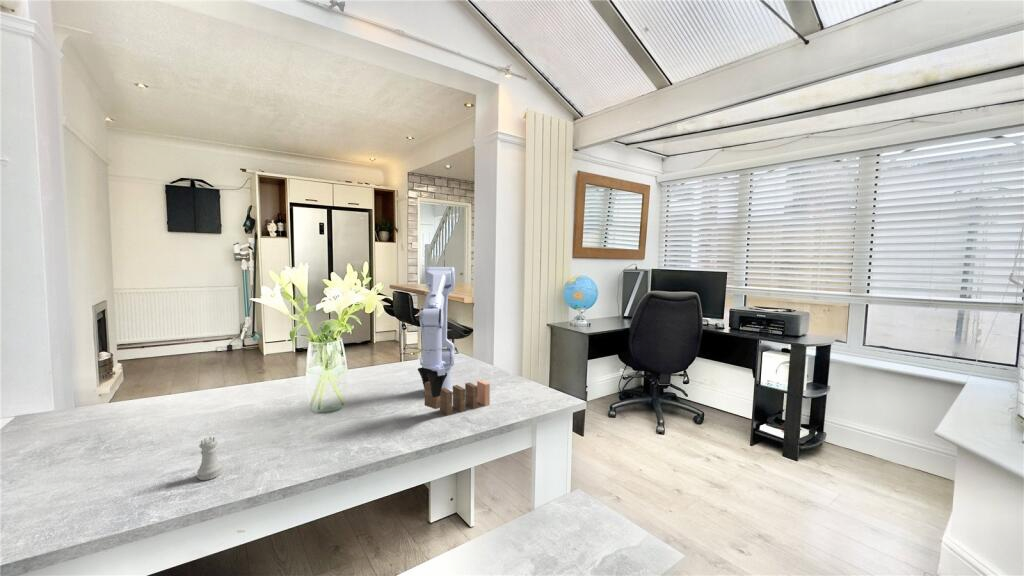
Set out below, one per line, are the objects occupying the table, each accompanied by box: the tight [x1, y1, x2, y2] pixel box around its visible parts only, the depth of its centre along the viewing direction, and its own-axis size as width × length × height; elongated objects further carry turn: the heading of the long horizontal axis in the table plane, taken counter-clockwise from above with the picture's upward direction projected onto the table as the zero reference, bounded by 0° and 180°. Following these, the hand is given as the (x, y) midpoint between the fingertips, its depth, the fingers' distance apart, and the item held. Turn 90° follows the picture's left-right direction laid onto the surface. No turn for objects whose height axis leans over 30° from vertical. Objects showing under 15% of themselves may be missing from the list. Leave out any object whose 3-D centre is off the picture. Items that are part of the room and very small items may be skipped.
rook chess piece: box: [196, 436, 223, 481], centre depth 87 cm, size 4×4×8 cm
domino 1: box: [423, 381, 440, 410], centre depth 121 cm, size 2×5×7 cm, turn 54°
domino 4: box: [464, 382, 479, 410], centre depth 130 cm, size 2×5×7 cm, turn 37°
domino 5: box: [476, 379, 491, 407], centre depth 132 cm, size 2×5×7 cm, turn 36°
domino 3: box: [452, 384, 466, 413], centre depth 127 cm, size 2×5×7 cm, turn 37°
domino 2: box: [439, 388, 453, 416], centre depth 124 cm, size 2×5×7 cm, turn 36°
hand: (432, 393), depth 121 cm, fingers closed on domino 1, 5 cm apart
